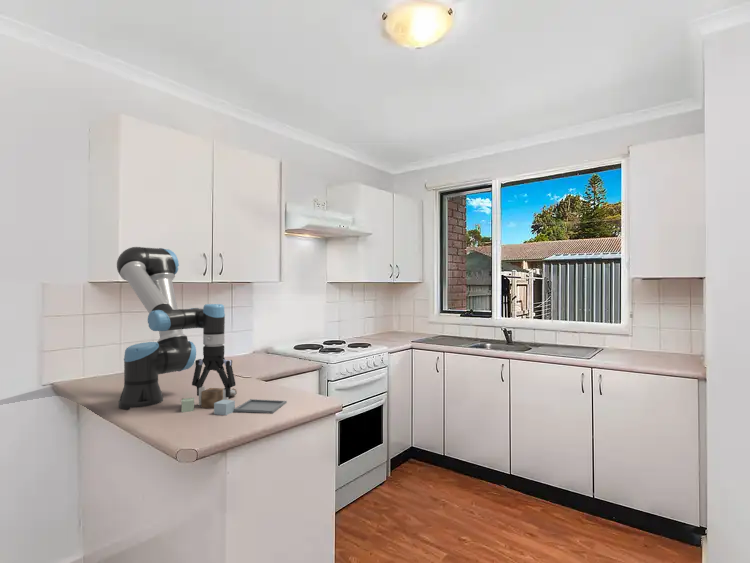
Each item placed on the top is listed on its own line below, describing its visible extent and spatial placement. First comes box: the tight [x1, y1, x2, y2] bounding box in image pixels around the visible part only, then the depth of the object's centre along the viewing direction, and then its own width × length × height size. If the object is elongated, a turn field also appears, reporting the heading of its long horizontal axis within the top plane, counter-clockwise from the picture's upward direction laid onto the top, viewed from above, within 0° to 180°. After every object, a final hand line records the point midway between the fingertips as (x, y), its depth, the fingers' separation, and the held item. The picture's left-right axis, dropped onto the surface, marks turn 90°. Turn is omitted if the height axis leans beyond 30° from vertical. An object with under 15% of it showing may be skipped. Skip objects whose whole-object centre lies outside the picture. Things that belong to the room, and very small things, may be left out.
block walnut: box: [201, 387, 225, 409], centre depth 165 cm, size 6×6×6 cm
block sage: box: [181, 397, 195, 413], centre depth 159 cm, size 4×4×4 cm
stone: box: [230, 388, 238, 397], centre depth 177 cm, size 10×7×3 cm
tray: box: [233, 398, 287, 415], centre depth 162 cm, size 15×14×1 cm
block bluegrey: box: [213, 399, 236, 416], centre depth 156 cm, size 5×5×4 cm
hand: (213, 405), depth 165 cm, fingers open, 9 cm apart
